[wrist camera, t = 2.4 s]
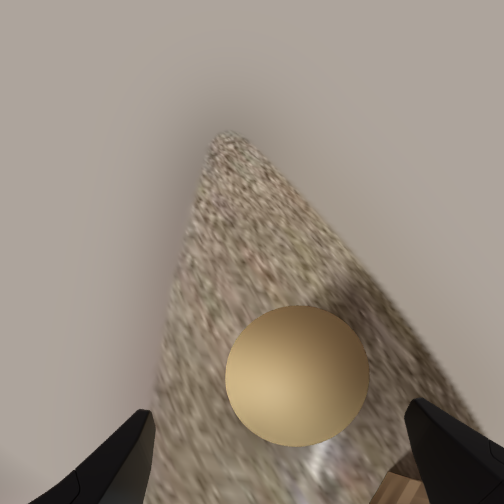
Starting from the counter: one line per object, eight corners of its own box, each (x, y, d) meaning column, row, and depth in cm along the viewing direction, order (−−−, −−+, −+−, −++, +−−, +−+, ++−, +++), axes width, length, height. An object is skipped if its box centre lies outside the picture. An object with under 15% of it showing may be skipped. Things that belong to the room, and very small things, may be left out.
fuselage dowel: (277, 430, 16) (328, 467, 6) (219, 399, 17) (196, 401, 7) (308, 375, 18) (389, 343, 8) (252, 346, 19) (271, 281, 9)
